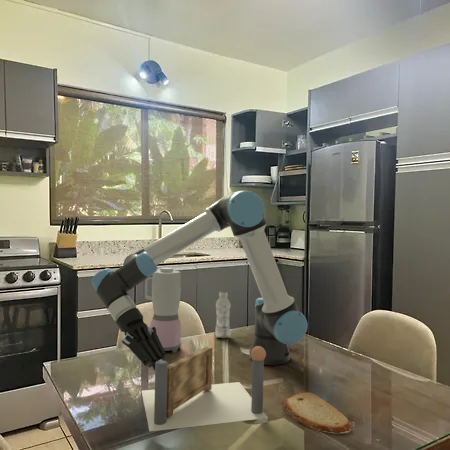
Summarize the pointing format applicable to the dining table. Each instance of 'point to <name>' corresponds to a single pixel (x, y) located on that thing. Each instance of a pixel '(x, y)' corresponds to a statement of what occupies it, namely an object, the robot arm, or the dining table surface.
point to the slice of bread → (315, 413)
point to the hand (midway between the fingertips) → (170, 381)
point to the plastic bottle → (222, 316)
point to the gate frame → (208, 401)
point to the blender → (165, 306)
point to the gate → (188, 378)
